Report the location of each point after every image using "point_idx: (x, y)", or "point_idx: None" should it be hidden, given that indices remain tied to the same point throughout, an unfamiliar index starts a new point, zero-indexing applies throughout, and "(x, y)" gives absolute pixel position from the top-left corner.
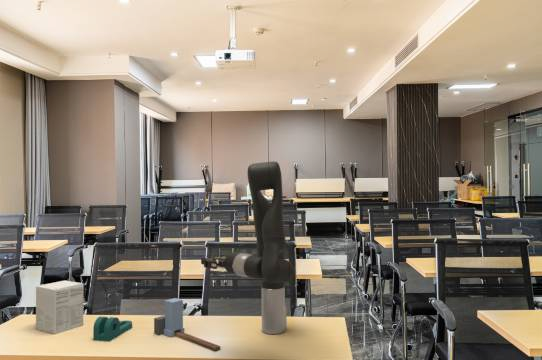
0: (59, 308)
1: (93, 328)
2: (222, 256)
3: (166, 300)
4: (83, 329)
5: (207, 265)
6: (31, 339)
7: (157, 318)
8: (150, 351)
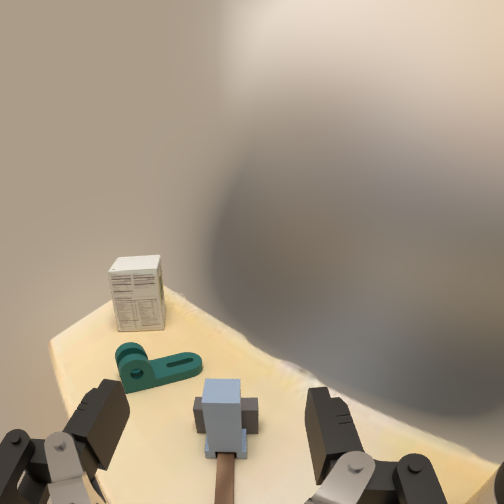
0: (119, 299)
1: (115, 358)
2: (314, 414)
3: (207, 381)
4: (150, 340)
5: (41, 481)
6: (95, 328)
7: (198, 402)
8: (119, 477)
